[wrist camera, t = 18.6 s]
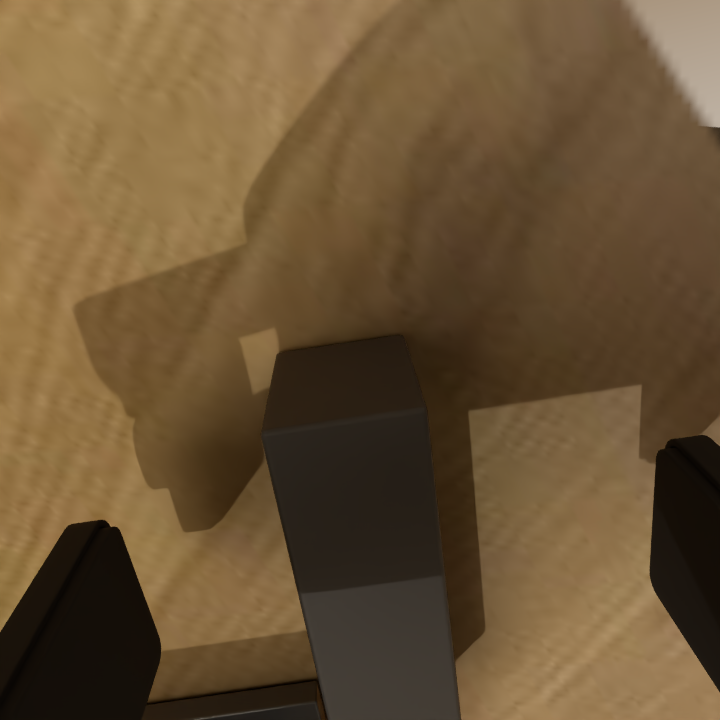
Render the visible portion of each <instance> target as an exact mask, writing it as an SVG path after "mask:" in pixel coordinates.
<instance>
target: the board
mask: <svg viewBox="0 0 720 720" xmlns="http://www.w3.org/2000/svg"><path fill="white" fill-rule="evenodd" d="M142 720H326V716H325V712H324V708H323V704H322V700H321V695H320V691H319V687H318V683H317V681H310V682H303V683H296V684H289V685H282V686H275V687H268V688H261V689H254V690H247V691H240V692H233V693H226V694H219V695H212V696H205V697H198V698H191V699H184V700H177V701H170V702H163V703H156V704H149V705H146V707H145V710H144V714H143V717H142Z"/></svg>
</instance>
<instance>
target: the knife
mask: <svg viewBox="0 0 720 720" xmlns="http://www.w3.org/2000/svg"><path fill="white" fill-rule="evenodd" d="M261 439H262V443H263V447H264V452H265V456H266V460H267V464H268V468H269V473H270V477H271V481H272V485H273V490H274V494H275V498H276V502H277V507H278V511H279V515H280V519H281V524H282V528H283V532H284V536H285V540H286V545H287V549H288V553H289V557H290V562H291V566H292V570H293V574H294V579H295V583H296V587H297V591H298V595H299V600H300V604H301V608H302V612H303V617H304V621H305V625H306V629H307V634H308V638H309V642H310V646H311V651H312V655H313V659H314V663H315V667H316V672H317V676H318V680H319V684H320V689H321V693H322V697H323V701H324V706H325V710H326V714H327V718H328V720H461V714H460V705H459V696H458V687H457V677H456V668H455V659H454V650H453V641H452V632H451V623H450V613H449V604H448V595H447V586H446V577H445V568H444V559H443V549H442V540H441V531H440V522H439V513H438V504H437V495H436V485H435V476H434V467H433V458H432V449H431V440H430V431H429V421H428V412H427V408H426V405H425V402H424V398H423V395H422V392H421V389H420V386H419V383H418V379H417V376H416V373H415V370H414V367H413V364H412V361H411V357H410V354H409V351H408V348H407V345H406V342H405V339H404V337H403V336H402V335H396V336H390V337H383V338H376V339H369V340H363V341H356V342H349V343H342V344H336V345H329V346H322V347H315V348H309V349H302V350H295V351H289V352H282V353H279V354H277V356H276V361H275V366H274V371H273V375H272V380H271V385H270V390H269V395H268V400H267V405H266V410H265V415H264V420H263V425H262V430H261Z"/></svg>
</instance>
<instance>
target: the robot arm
mask: <svg viewBox="0 0 720 720" xmlns="http://www.w3.org/2000/svg"><path fill="white" fill-rule="evenodd" d="M650 579H651V583H652V586H653V588H654V591H655V593H656V594H657V596H658V598H659V599H660V601H661V602H662V604H663V605H664V607H665V608H666V610H667V612H668V613H669V615H670V616H671V618H672V619H673V621H674V622H675V624H676V625H677V627H678V628H679V630H680V632H681V633H682V635H683V636H684V638H685V639H686V641H687V642H688V644H689V645H690V647H691V649H692V650H693V652H694V653H695V655H696V656H697V658H698V659H699V661H700V662H701V664H702V666H703V667H704V669H705V670H706V672H707V673H708V675H709V676H710V678H711V679H712V681H713V682H714V684H715V686H716V687H717V689H718V690H719V692H720V446H719V445H717V444H716V443H715V442H714V441H713V440H712V439H711V438H709V437H708V436H706V435H699V436H692V437H685V438H678V439H671V440H669V441H668V442H667V444H666V447H665V449H662V450H659V451H658V453H657V456H656V469H655V487H654V504H653V521H652V538H651V555H650ZM160 658H161V642H160V638H159V635H158V632H157V629H156V627H155V624H154V621H153V619H152V616H151V613H150V610H149V608H148V605H147V602H146V600H145V597H144V594H143V591H142V589H141V586H140V583H139V581H138V578H137V575H136V572H135V570H134V567H133V564H132V562H131V559H130V556H129V553H128V551H127V548H126V545H125V542H124V540H123V537H122V534H121V532H120V530H119V529H118V528H117V527H110V525H109V524H108V523H107V522H106V521H105V520H97V521H90V522H83V523H76V524H71V525H68V526H67V528H66V529H65V530H64V532H63V533H62V535H61V536H60V538H59V540H58V541H57V543H56V544H55V546H54V548H53V549H52V551H51V552H50V554H49V556H48V557H47V559H46V560H45V562H44V563H43V565H42V567H41V568H40V570H39V571H38V573H37V575H36V576H35V578H34V579H33V581H32V583H31V584H30V586H29V587H28V589H27V591H26V592H25V594H24V595H23V597H22V599H21V600H20V602H19V603H18V605H17V607H16V608H15V610H14V611H13V613H12V614H11V616H10V618H9V619H8V621H7V622H6V624H5V626H4V627H3V629H2V630H1V632H0V720H142V717H143V714H144V710H145V707H146V704H147V701H148V698H149V694H150V691H151V688H152V685H153V682H154V678H155V675H156V672H157V669H158V666H159V662H160Z"/></svg>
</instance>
